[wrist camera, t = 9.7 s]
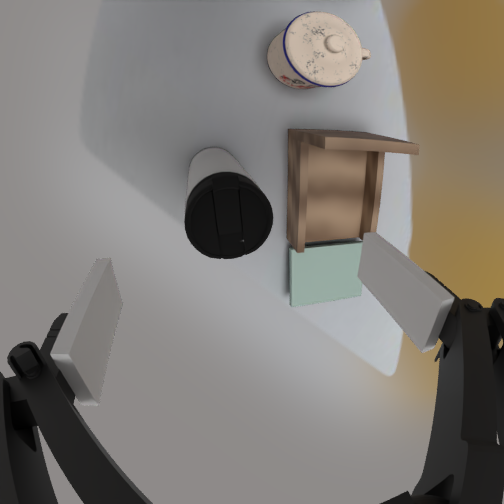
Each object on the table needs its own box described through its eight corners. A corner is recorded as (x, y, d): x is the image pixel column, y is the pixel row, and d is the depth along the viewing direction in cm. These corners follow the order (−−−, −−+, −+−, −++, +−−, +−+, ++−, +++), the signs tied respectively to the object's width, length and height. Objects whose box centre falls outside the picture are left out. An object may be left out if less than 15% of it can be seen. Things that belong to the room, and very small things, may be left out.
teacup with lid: (269, 93, 34) (299, 86, 24) (260, 29, 30) (286, 0, 20) (352, 89, 35) (402, 88, 25) (344, 31, 31) (391, 12, 21)
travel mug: (234, 141, 36) (273, 169, 19) (239, 190, 39) (278, 260, 22) (185, 148, 36) (175, 182, 18) (192, 197, 39) (191, 273, 21)
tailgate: (291, 249, 42) (291, 307, 45) (365, 242, 44) (361, 295, 46) (286, 245, 44) (287, 300, 47) (358, 238, 46) (354, 290, 48)
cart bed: (288, 128, 37) (325, 136, 26) (366, 132, 39) (419, 144, 28) (286, 237, 44) (316, 280, 33) (358, 231, 46) (400, 268, 35)
